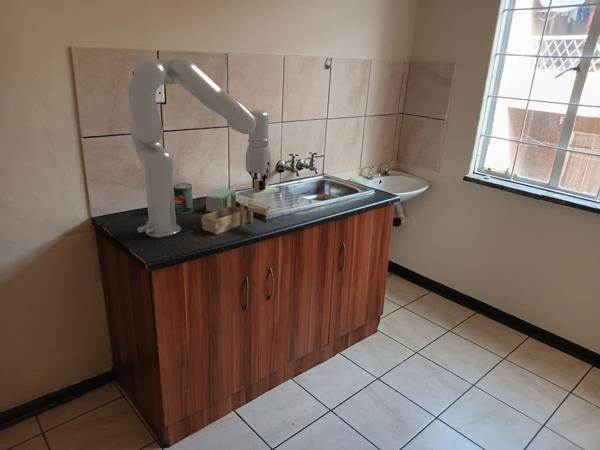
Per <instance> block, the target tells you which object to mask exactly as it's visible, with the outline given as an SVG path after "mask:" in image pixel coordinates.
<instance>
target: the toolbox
mask: <svg viewBox="0 0 600 450" xmlns="http://www.w3.org/2000/svg"><path fill="white" fill-rule="evenodd" d="M236 195H237V194H235V195H234V194H232V195H231V206H230V207H227V197H222V200H223V209H221V210H218V211H215V212H209V213H205V214H202V215H201V229H202V230H204V231H207V232H208V233H209V232H210V233H212V234H215V235H219V234H222V233H224V232H227V231H229V230H233V229H234V228H237V227H240V226H241V227H245V226H246V224H247V223H249V224H253V223H254V212H253V211H250V210H248V209H245V208H246V207H245V206H246V203H245V202H243V201H241V202H239V207H238V206H237V201H236ZM250 201H254V200H253V199H252V198H250V199H248V200H247V203H248V202H250Z"/></svg>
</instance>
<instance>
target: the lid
mask: <svg viewBox="0 0 600 450" xmlns="http://www.w3.org/2000/svg"><path fill="white" fill-rule="evenodd" d="M258 178H259V179H255V180H254V189H253V188H250V189H245V190H242V191H239V196H242V197H243V196H244V197H245V198H246V197H247V198H250V199H252V200H253V199H256V198H260V197H264V196H267V195H270V194H272V193H278V192H279V191H280V188H279V187H275V186H272V185H271V186H270V185H267V183H266V182H267V181H266V180H267V179H266V180H265V189H264V190H259V181H260V177H258Z"/></svg>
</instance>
